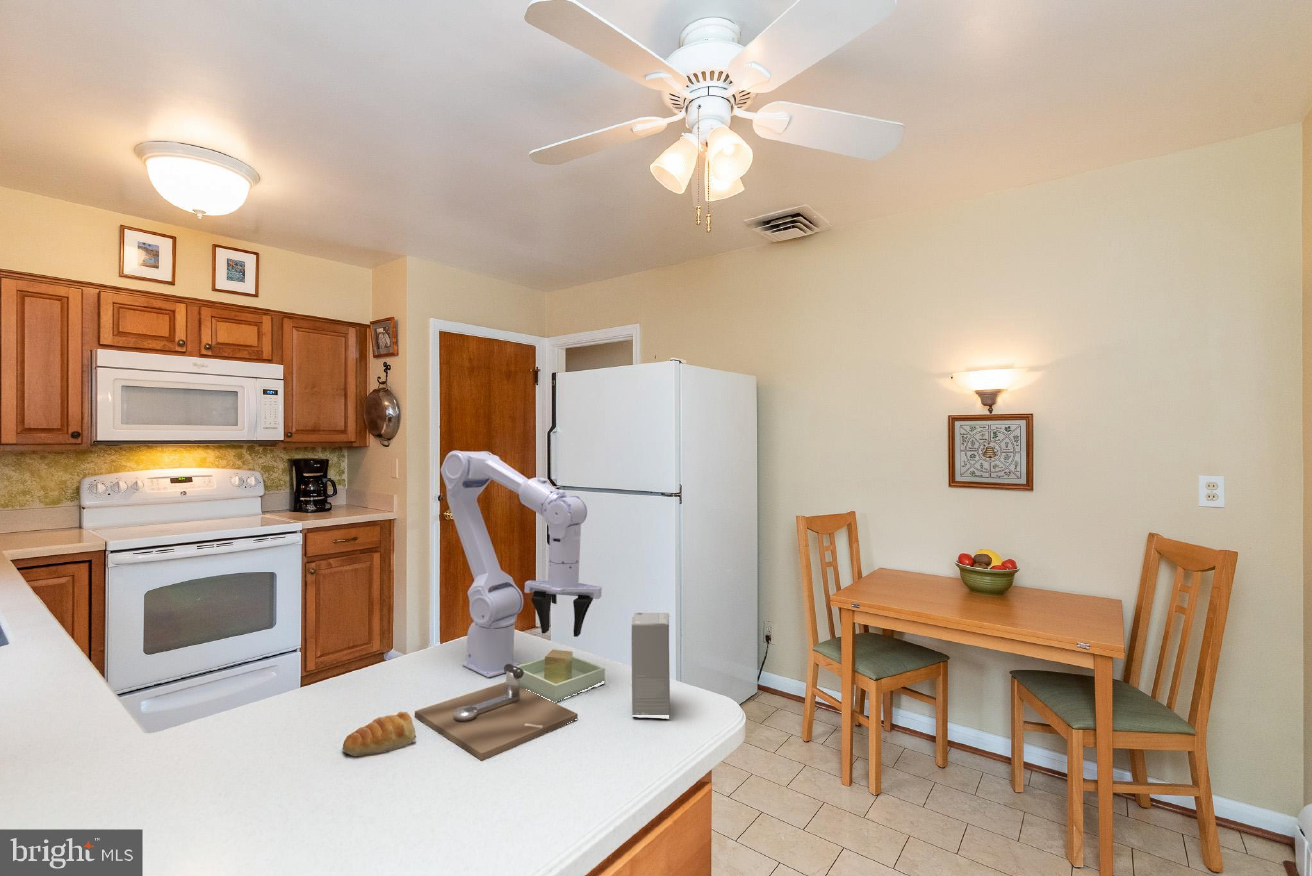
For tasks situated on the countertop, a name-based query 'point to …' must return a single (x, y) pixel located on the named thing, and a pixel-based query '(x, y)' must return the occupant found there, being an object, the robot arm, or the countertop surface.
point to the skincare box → (650, 664)
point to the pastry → (381, 735)
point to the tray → (581, 680)
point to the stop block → (558, 666)
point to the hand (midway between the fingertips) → (561, 633)
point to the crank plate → (495, 721)
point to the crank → (511, 695)
